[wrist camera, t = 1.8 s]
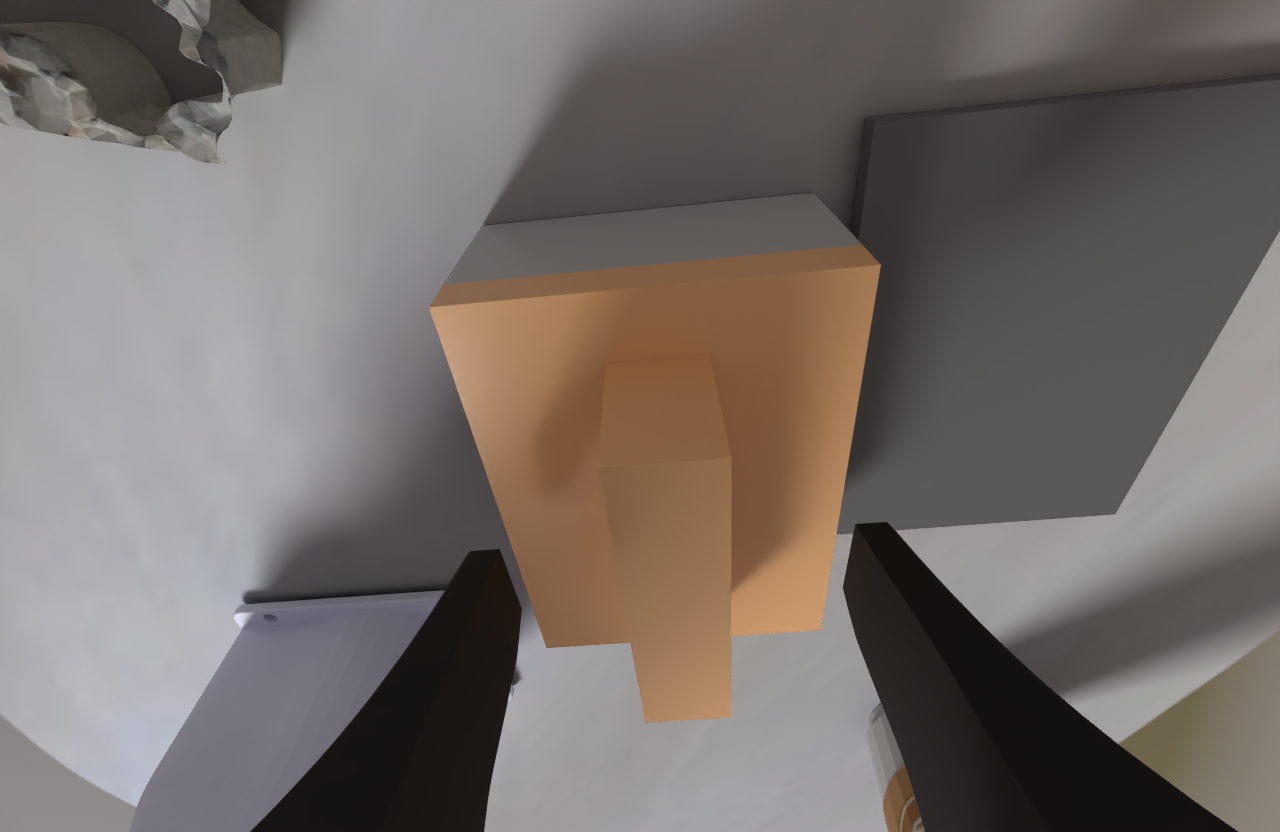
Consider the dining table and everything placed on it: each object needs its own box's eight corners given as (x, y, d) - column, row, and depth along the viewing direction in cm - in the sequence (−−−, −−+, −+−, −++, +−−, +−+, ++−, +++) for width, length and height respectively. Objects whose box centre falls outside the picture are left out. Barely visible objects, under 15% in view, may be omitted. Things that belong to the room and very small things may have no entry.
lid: (553, 596, 18) (532, 757, 14) (454, 268, 12) (366, 403, 8) (805, 578, 18) (853, 739, 14) (848, 230, 11) (962, 352, 7)
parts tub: (561, 531, 20) (550, 617, 18) (481, 225, 14) (443, 284, 11) (786, 515, 20) (811, 600, 17) (813, 192, 13) (861, 244, 11)
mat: (813, 522, 20) (818, 535, 20) (865, 117, 12) (874, 122, 12) (1103, 501, 20) (1115, 514, 19) (1343, 66, 12) (1372, 69, 12)
